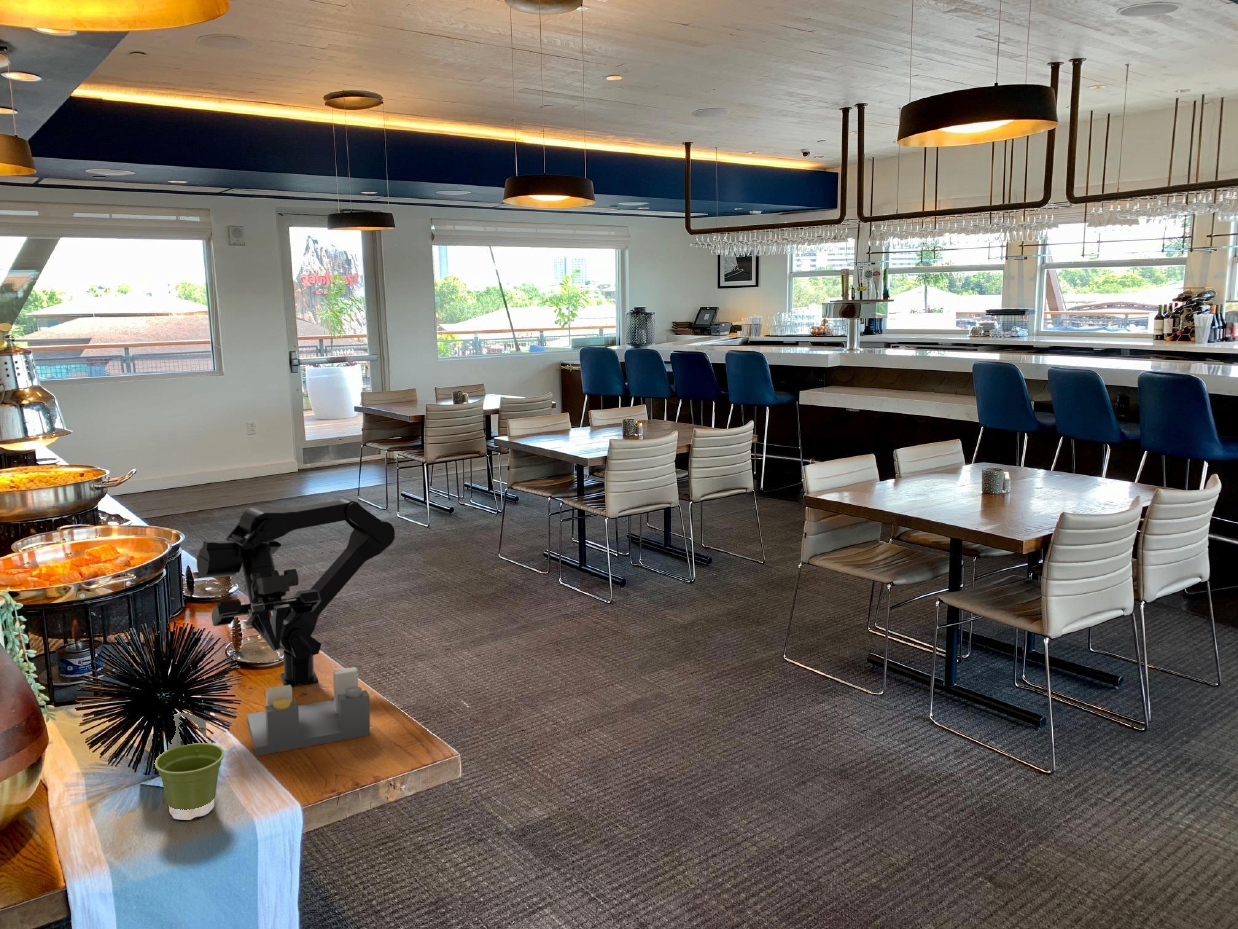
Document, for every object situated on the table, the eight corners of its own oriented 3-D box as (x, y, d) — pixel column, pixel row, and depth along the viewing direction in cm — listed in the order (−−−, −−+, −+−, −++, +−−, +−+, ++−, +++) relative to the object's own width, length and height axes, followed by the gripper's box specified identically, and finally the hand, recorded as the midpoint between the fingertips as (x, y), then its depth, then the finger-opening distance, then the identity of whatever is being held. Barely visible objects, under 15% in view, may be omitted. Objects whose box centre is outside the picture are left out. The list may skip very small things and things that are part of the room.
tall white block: (267, 729, 160) (266, 688, 159) (291, 725, 162) (290, 684, 160) (268, 734, 158) (267, 692, 157) (293, 730, 160) (292, 689, 159)
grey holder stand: (247, 722, 167) (245, 677, 165) (353, 704, 175) (352, 662, 174) (256, 756, 154) (254, 708, 153) (370, 735, 163) (369, 690, 162)
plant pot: (180, 792, 142) (178, 740, 141) (238, 797, 141) (236, 745, 140) (143, 825, 133) (140, 770, 132) (205, 831, 132) (202, 775, 131)
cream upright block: (334, 709, 169) (333, 670, 167) (356, 705, 170) (355, 667, 169) (336, 713, 167) (335, 674, 166) (358, 710, 169) (357, 671, 167)
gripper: (217, 560, 163) (234, 642, 158) (320, 549, 175) (339, 625, 169) (204, 585, 171) (219, 664, 165) (303, 573, 183) (320, 647, 177)
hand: (276, 649), depth 169 cm, fingers closed
